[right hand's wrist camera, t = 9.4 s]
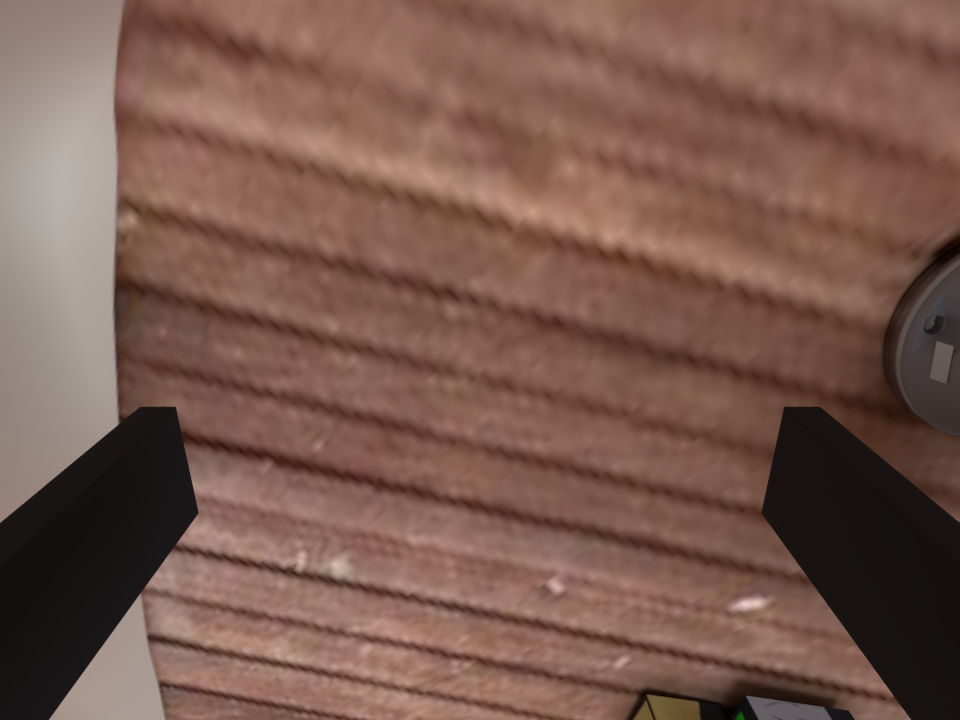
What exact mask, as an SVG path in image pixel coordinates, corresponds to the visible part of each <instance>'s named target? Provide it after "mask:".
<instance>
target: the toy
mask: <svg viewBox="0 0 960 720" xmlns="http://www.w3.org/2000/svg"><path fill="white" fill-rule="evenodd" d="M632 720H726V718H725V716H724V714H723V712H722V710H721V708H720V705H719V704H713V703H706V702H699V701H692V700H685V699H678V698H671V697H664V696H657V695H650V694H646V695H645V697H644V698H643V700H642V702H641V704H640V706H639V707H638V709H637V711H636V713H635V714H634V716H633V718H632ZM729 720H855V719H854V718H853V717H852V715H851V714H850V712H849V711H848V710H841V709H834V708H827V707H820V706H814V705H807V704H800V703H793V702H786V701H780V700H773V699H766V698H759V697H752V696H744V697H743V699H742V700H741V702H740V704H739V705H738V707H737V708H736V710H735V711H734V713H733V714H732V716H731V717H730V719H729Z"/></svg>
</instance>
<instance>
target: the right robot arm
mask: <svg viewBox="0 0 960 720" xmlns="http://www.w3.org/2000/svg"><path fill="white" fill-rule="evenodd" d="M884 365H885V372H886V377H887V380H888V383H889V385H890V387H891V389H892V391H893V393H894V395H895V396H896V398H897V399H898V400H899V401H900V403H901V404H902V405H903V406H904V407H905V408H907V409H908V410H909V411H910V412H912V413H913V414H915V415H916V416H918V417H919V418H921V419H922V420H924V421H925V422H927V423H928V424H930V425H931V426H933V427H935V428H937V429H939V430H941V431H944V432H946V433H949V434H953V435H957V436H960V246H959V247H957V248H955V249H954V250H952V251H951V252H949V253H948V254H946V255H945V256H943V257H942V258H941V259H939V260H938V261H937V262H936V263H934V264H933V265H932V266H931V267H930V268H929V269H928V270H927V271H926V272H925V273H923V275H922V276H921V277H920V278H919V279H918V280H917V281H916V282H915V283H914V285H913V286H912V287H911V288H910V290H909V291H908V292H907V294H906V295H905V297H904V298H903V300H902V301H901V303H900V305H899V307H898V308H897V310H896V312H895V314H894V317H893V319H892V321H891V324H890V327H889V330H888V333H887V337H886V342H885V349H884ZM197 515H198V508H197V504H196V499H195V494H194V490H193V485H192V480H191V476H190V471H189V466H188V462H187V457H186V452H185V448H184V443H183V439H182V434H181V429H180V425H179V420H178V415H177V411H176V407H139V408H138V409H137V410H136V411H135V412H133V413H132V414H131V415H130V416H129V417H127V418H126V419H125V420H124V421H123V422H121V423H120V424H119V425H118V426H117V427H115V428H114V429H113V430H112V431H111V432H109V433H108V434H107V435H106V436H104V437H103V438H102V439H101V440H100V441H98V442H97V443H96V444H95V445H94V446H92V447H91V448H90V449H89V450H88V451H86V452H85V453H84V454H83V455H82V456H80V457H79V458H78V459H77V460H76V461H74V462H73V463H72V464H71V465H70V466H68V467H67V468H66V469H65V470H64V471H62V472H61V473H60V474H59V475H58V476H56V477H55V478H54V479H53V480H51V481H50V482H49V483H48V484H47V485H45V486H44V487H43V488H42V489H41V490H39V491H38V492H37V493H36V494H35V495H33V496H32V497H31V498H30V499H29V500H27V501H26V502H25V503H24V504H23V505H21V506H20V507H19V508H18V509H17V510H15V511H14V512H13V513H12V514H11V515H9V516H8V517H7V518H6V519H5V520H3V521H2V522H1V523H0V720H49V719H50V717H51V716H52V715H53V713H54V712H55V710H56V709H57V708H58V706H59V705H60V703H61V702H62V701H63V699H64V698H65V697H66V695H67V694H68V692H69V691H70V690H71V688H72V687H73V686H74V684H75V683H76V681H77V680H78V679H79V677H80V676H81V675H82V673H83V672H84V670H85V669H86V668H87V666H88V665H89V664H90V662H91V661H92V659H93V658H94V657H95V655H96V654H97V652H98V651H99V650H100V648H101V647H102V646H103V644H104V643H105V641H106V640H107V639H108V637H109V636H110V635H111V633H112V632H113V630H114V629H115V628H116V626H117V625H118V624H119V622H120V621H121V619H122V618H123V617H124V615H125V614H126V612H127V611H128V610H129V608H130V607H131V606H132V604H133V603H134V601H135V600H136V599H137V597H138V596H139V595H140V593H141V592H142V590H143V589H144V588H145V586H146V585H147V584H148V582H149V581H150V579H151V578H152V577H153V575H154V574H155V572H156V571H157V570H158V568H159V567H160V566H161V564H162V563H163V561H164V560H165V559H166V557H167V556H168V555H169V553H170V552H171V550H172V549H173V548H174V546H175V545H176V544H177V542H178V541H179V539H180V538H181V537H182V535H183V534H184V532H185V531H186V530H187V528H188V527H189V526H190V524H191V523H192V521H193V520H194V519H195V517H196V516H197ZM762 515H763V516H764V517H765V519H766V520H767V521H768V523H769V524H770V526H771V527H772V528H773V530H774V531H775V532H776V534H777V535H778V537H779V538H780V539H781V541H782V542H783V544H784V545H785V546H786V548H787V549H788V550H789V552H790V553H791V555H792V556H793V557H794V559H795V560H796V561H797V563H798V564H799V566H800V567H801V568H802V570H803V571H804V572H805V574H806V575H807V577H808V578H809V579H810V581H811V582H812V584H813V585H814V586H815V588H816V589H817V590H818V592H819V593H820V595H821V596H822V597H823V599H824V600H825V601H826V603H827V604H828V606H829V607H830V608H831V610H832V611H833V612H834V614H835V615H836V617H837V618H838V619H839V621H840V622H841V624H842V625H843V626H844V628H845V629H846V630H847V632H848V633H849V635H850V636H851V637H852V639H853V640H854V641H855V643H856V644H857V646H858V647H859V648H860V650H861V651H862V653H863V654H864V655H865V657H866V658H867V659H868V661H869V662H870V664H871V665H872V666H873V668H874V669H875V670H876V672H877V673H878V675H879V676H880V677H881V679H882V680H883V681H884V683H885V684H886V686H887V687H888V688H889V690H890V691H891V693H892V694H893V695H894V697H895V698H896V699H897V701H898V702H899V704H900V705H901V706H902V708H903V709H904V710H905V712H906V713H907V715H908V716H909V718H910V719H911V720H960V522H958V521H957V520H955V519H954V518H953V517H952V516H951V515H949V514H948V513H947V512H946V511H945V510H943V509H942V508H941V507H940V506H939V505H937V504H936V503H935V502H934V501H933V500H931V499H930V498H929V497H928V496H927V495H925V494H924V493H923V492H922V491H921V490H919V489H918V488H917V487H916V486H915V485H913V484H912V483H911V482H910V481H909V480H907V479H906V478H905V477H904V476H902V475H901V474H900V473H899V472H898V471H896V470H895V469H894V468H893V467H892V466H890V465H889V464H888V463H887V462H886V461H884V460H883V459H882V458H881V457H880V456H878V455H877V454H876V453H875V452H874V451H872V450H871V449H870V448H869V447H868V446H866V445H865V444H864V443H863V442H862V441H860V440H859V439H858V438H857V437H856V436H854V435H853V434H852V433H851V432H849V431H848V430H847V429H846V428H845V427H843V426H842V425H841V424H840V423H839V422H837V421H836V420H835V419H834V418H833V417H831V416H830V415H829V414H828V413H827V412H825V411H824V410H823V409H822V408H821V407H784V411H783V415H782V420H781V425H780V429H779V434H778V439H777V443H776V448H775V452H774V457H773V462H772V466H771V471H770V476H769V480H768V485H767V490H766V494H765V499H764V504H763V508H762Z"/></svg>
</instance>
